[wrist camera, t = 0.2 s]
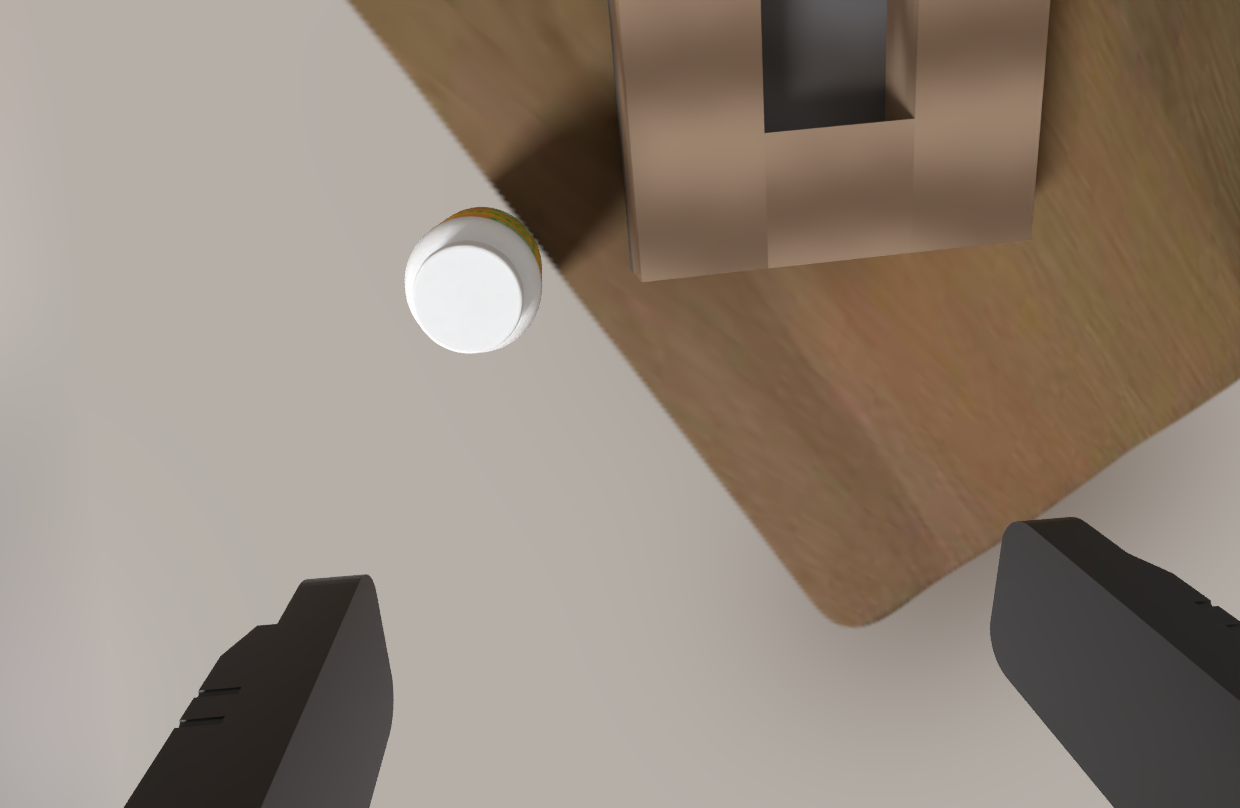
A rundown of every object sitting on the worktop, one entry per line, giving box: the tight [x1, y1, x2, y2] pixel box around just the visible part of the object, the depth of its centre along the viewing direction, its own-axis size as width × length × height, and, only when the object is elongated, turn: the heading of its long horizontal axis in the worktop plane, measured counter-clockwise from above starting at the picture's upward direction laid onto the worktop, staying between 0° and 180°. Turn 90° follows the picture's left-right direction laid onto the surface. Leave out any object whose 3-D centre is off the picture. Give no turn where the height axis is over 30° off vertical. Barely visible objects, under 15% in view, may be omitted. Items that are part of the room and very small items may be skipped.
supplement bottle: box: [405, 207, 542, 353], centre depth 32 cm, size 5×5×10 cm
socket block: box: [608, 0, 1050, 282], centre depth 33 cm, size 18×18×4 cm
